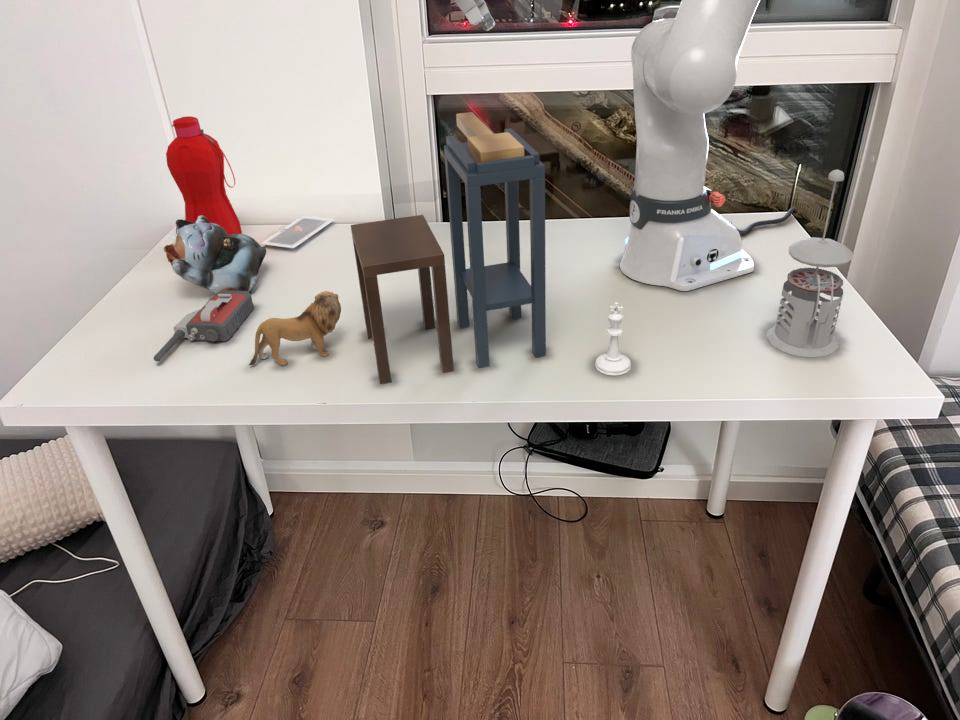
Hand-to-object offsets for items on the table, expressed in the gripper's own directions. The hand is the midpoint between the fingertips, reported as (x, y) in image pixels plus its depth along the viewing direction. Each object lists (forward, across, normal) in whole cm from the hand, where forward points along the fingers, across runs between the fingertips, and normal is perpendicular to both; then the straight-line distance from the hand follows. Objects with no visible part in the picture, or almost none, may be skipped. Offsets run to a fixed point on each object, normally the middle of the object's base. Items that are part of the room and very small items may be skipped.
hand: (484, 25), depth 104 cm
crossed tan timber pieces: (+13, -7, +8) cm, 17 cm away
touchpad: (+7, +30, +56) cm, 64 cm away
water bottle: (0, +24, +68) cm, 72 cm away
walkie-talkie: (+14, -7, +60) cm, 62 cm away
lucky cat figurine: (+8, +9, +63) cm, 64 cm away
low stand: (+32, -9, +33) cm, 47 cm away
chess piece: (+49, -10, +8) cm, 50 cm away
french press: (+61, -2, -16) cm, 63 cm away
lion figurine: (+24, -11, +46) cm, 53 cm away
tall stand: (+38, -5, +21) cm, 44 cm away
